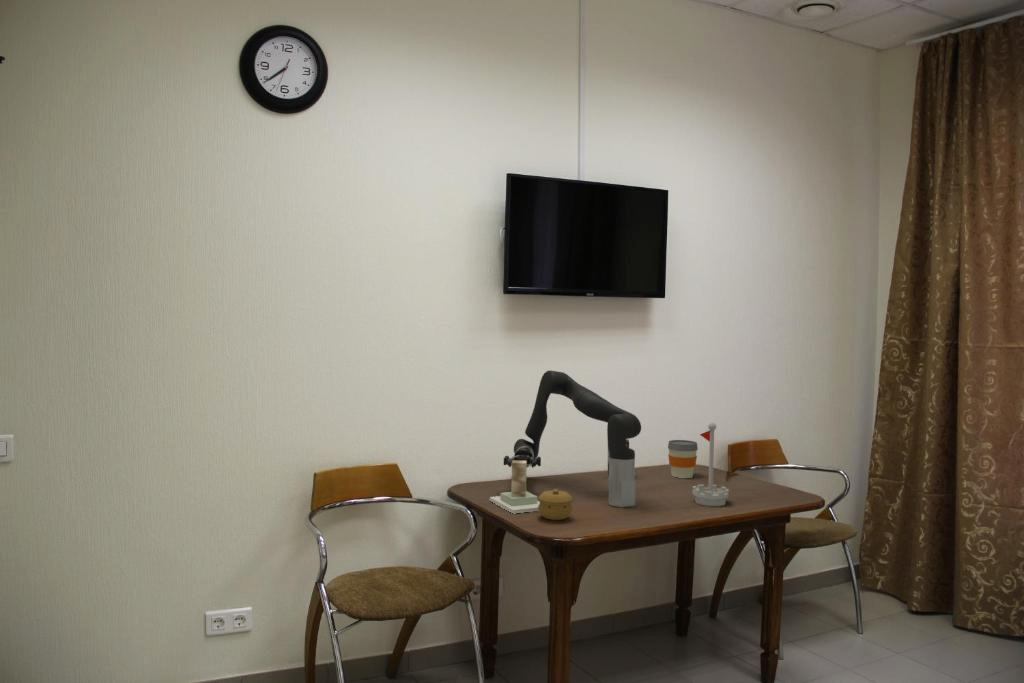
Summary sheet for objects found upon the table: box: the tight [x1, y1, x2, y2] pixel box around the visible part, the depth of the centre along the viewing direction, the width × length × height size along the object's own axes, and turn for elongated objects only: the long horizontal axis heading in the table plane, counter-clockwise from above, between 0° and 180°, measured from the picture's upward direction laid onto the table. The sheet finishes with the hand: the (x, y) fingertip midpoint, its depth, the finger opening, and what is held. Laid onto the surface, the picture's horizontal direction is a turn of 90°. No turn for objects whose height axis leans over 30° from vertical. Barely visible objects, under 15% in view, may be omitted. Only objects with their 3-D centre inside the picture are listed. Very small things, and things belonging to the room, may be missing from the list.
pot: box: [537, 488, 574, 521], centre depth 261 cm, size 12×12×10 cm
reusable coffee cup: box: [667, 439, 699, 479], centre depth 332 cm, size 13×13×15 cm
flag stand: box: [692, 422, 730, 507], centre depth 287 cm, size 13×13×30 cm
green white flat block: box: [489, 490, 540, 515], centre depth 277 cm, size 20×14×4 cm
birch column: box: [510, 460, 528, 497], centre depth 276 cm, size 5×5×12 cm
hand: (521, 464), depth 288 cm, fingers open, 8 cm apart
